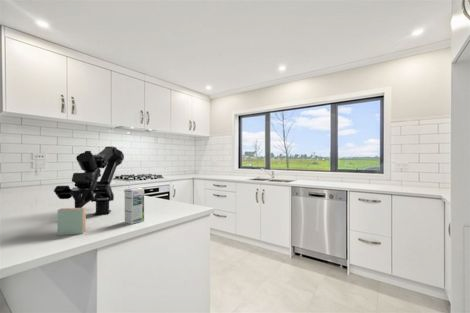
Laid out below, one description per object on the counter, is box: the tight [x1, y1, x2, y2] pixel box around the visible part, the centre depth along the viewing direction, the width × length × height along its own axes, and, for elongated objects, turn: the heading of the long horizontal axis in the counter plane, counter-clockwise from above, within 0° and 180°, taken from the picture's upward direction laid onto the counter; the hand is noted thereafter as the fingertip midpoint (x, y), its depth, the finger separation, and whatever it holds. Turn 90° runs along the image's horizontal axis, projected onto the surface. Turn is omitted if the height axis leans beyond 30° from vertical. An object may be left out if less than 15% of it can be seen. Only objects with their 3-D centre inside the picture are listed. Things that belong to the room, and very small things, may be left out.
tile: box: [56, 207, 87, 236], centre depth 77 cm, size 2×8×9 cm, turn 103°
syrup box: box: [123, 186, 145, 225], centre depth 91 cm, size 6×6×14 cm
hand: (76, 209), depth 80 cm, fingers closed
